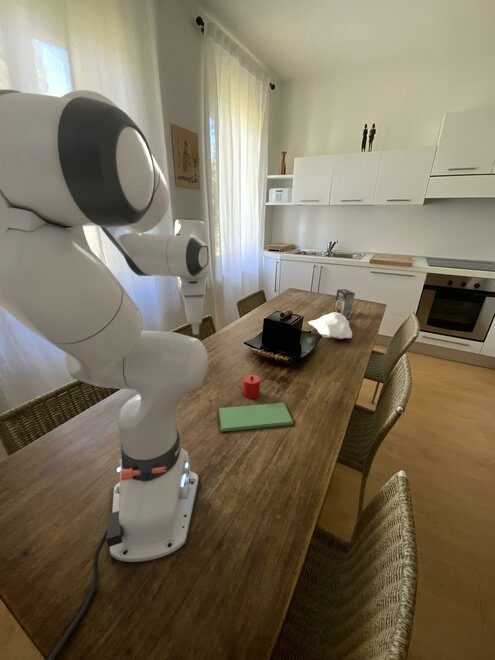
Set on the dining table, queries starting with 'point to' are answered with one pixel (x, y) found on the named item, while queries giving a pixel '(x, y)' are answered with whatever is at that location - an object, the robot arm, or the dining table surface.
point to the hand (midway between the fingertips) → (195, 327)
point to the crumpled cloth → (332, 326)
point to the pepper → (251, 386)
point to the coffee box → (344, 302)
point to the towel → (254, 417)
